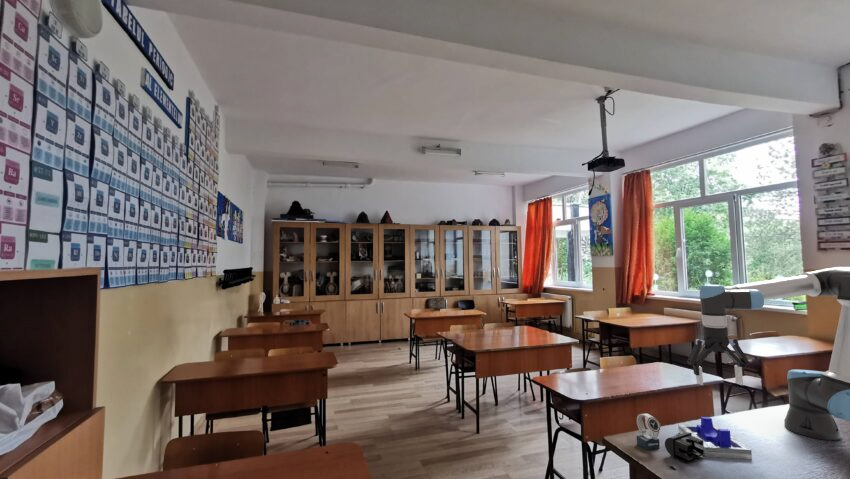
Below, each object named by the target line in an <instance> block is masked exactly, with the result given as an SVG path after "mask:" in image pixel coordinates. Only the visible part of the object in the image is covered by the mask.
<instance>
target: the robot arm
mask: <svg viewBox="0 0 850 479" xmlns="http://www.w3.org/2000/svg"><path fill="white" fill-rule="evenodd" d="M801 296H808V297H809V296H810V297H813V298H815V297H837V298H836V301H837V302H838V303H839V304H840V305H841V308H840V309H841V310H840V314H839V319H838V324H837V328H836V333H835V338H834V342H833V347H832V351H831V352H832V353H831V357H830V362H829V366H828V370H826V371H819V370H812V369H811V370H810V369H790V370H788V371H787V377H786V380H787V388H788V391H787V392H788V402H789V403H788V404H789V405H788V406H789V407H788V410H787V412H786V415H785V418H784V421H783V422H784V427H785V428H786V429H787V430H788V431H791V432H792V433H795V434H799V435H801V436H805V437H808V438H813V439H819V440H823V441H824V440H826V441H836V440H837V441H838V440H840V439H841V431H840V430H839V427H838V425H837V423H836V422H837V421H836V420H835V418H837V419H840V420H843V421H845V422H849V423H850V266H833V267H829V268H828V267H827V268H822V269H817V270H813V271H804V272H802V273H801V274H800V275H797V276H790V277H782V278H776V279H769V280H763V281H755V282H748V283H740V284H734V285H727V286H724V285H723V284H703V285H700V287H699V299H700V301H699V302H700V310H701V323H702V325H703V326H702V335H703V339H698V338H695V339H694V344H693V347H692V349H691V352H690V353H689V356H688V359H687V360H686V363H687V364H688V365H690V366H692V370H693V371H692V372H693V374H694V375H695V376H696V377H695V378H696V384H698V385H699V386H704V378H703V377H704V376H703V367H702V366H701V365H702V363H703V362H704V361H705V360H706V358H708V356H709V355H710V354H712V352H713V353H718V352H721V353H723V352H724V353H725V354H726V355H727V356H728V357H729V358H730V359H731V361H733V362H734V363H735V365H733V366H734V376H735V383H736V384H737V385H740V386H744V377H743V376H745V368H746V367H747V365H748V366H749V365H750V361H749V359H748V358H747V356H746V355H745V353H744V351H743V349H742V348H741V347H740V344H739V341H738V339H735V338H733V337H732V338H730V339H729V330H728V327H727V326H728V319H727V318H728V317H727V311H738V310H740V311H743V310H744V311H745V310H746V311H749V310H750V311H754V310H760V309H763V307H764V305H765V301H769V300H771V301H772V300H778V299H785V298H792V297H801ZM729 345H731V347H732V349H733V350H731V348H729V347H728V346H729ZM702 346H704V347H703V348H702ZM733 351H734V352H733ZM735 353H736V354H735Z"/></svg>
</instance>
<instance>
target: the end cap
mask: <svg viewBox="0 0 850 479" xmlns="http://www.w3.org/2000/svg"><path fill="white" fill-rule="evenodd" d="M694 443H697V444H700V445H702V446H703V440H700V439H698V438H695V437H693V436H692V434H691V433H689V432H687V433H683V434H676V435H674V436H670V437H667V438H666V439H665V441H664V447H665V450H666V452H667V453H668V454H669V455H670V456H671V457H672V458H673V459H675V460H676V461H679V462H681V463H682V464H685V465H690V464H694V463H695V462H699V461H702V460H704V456H705V455H704V449H701V448H699V447H697V446H695V444H694Z"/></svg>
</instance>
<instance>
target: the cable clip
mask: <svg viewBox="0 0 850 479" xmlns="http://www.w3.org/2000/svg"><path fill="white" fill-rule="evenodd" d="M696 426H697V433H698V434H699V435H700V436H702V437H703V438H704V439H705V440H710V441H712V442H714V443H715V444H716V445H717V446H719V447H731V437H730V435H731V431H730V430H729V429H726V428H725V429H724V428H721V429H718V434H717V433H716V431H715V429H714V427H715V426H714V424H713V418H711V417H710V416H700V424H696Z"/></svg>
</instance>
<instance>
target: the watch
mask: <svg viewBox="0 0 850 479" xmlns="http://www.w3.org/2000/svg"><path fill="white" fill-rule="evenodd" d="M643 418H644V420H645V424H644V421H643ZM636 425H637V428H638V430H639V433H640V434H638V435H637V434H636V445H637V446H639V447H641V448H642V449H644V450H646V451H649V450H656V449H660V439H659V437H658V436H659V434H660V430H661V423H660V422H659V420H658V419H657V418H655V417H654V416H653V415H651V414H649V413H647V412H646V413H640V414H638V415H637V417H636ZM647 429H648V431H649V432H650V433H647Z"/></svg>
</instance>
